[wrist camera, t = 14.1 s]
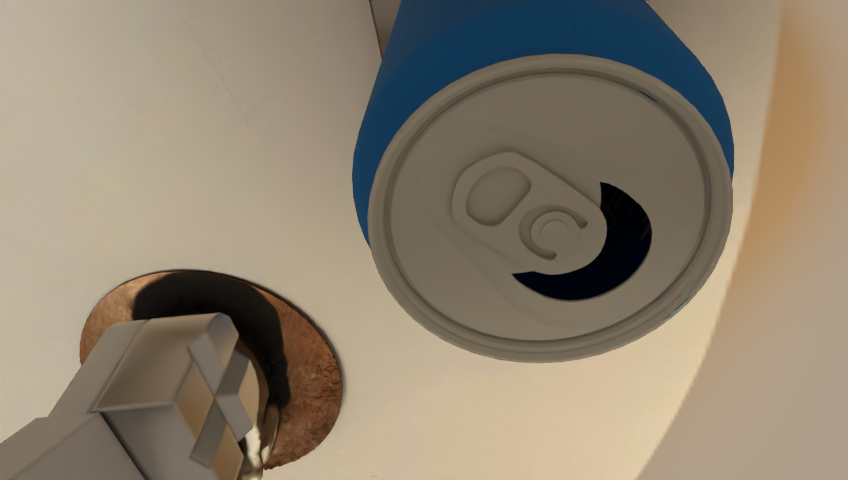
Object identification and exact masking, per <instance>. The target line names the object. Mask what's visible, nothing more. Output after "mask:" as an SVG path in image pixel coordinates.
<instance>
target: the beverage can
mask: <svg viewBox="0 0 848 480" xmlns="http://www.w3.org/2000/svg"><path fill="white" fill-rule="evenodd" d="M733 172H734V143H733V137H732V131H731V125H730V119H729V116H728V113H727V110H726V107H725V104H724V101H723V98H722V96H721V94H720V92H719V91H718V89H717V87H716V85H715V83H714V81H713V79H712V77H711V76H710V74H709V73H708V72H707V71H706V69H705V68H704V67H703V65H702V64H701V63H700V61H699V60H698V59H697V57H696V56H695V55H694V54H693V53H692V52H691V51H690V50H689V49H688V47H687V46H686V45H685V44H684V43H683V42H682V41H681V40H680V39H679V38H678V37H677V35H676V34H675V33H674V32H673V31H672V30H671V29H670V28H669V27H668V26H667V25H666V23H665V22H664V21H663V20H662V19H661V18H660V17H659V16H658V15H657V14H656V13H655V11H654V10H653V9H652V8H651V7H650V6H649V5H648V4H647V3H646V2H645V1H644V0H401V4H400V7H399V10H398V13H397V16H396V19H395V22H394V25H393V28H392V31H391V35H390V38H389V41H388V44H387V47H386V50H385V53H384V56H383V59H382V62H381V66H380V69H379V72H378V75H377V78H376V81H375V84H374V87H373V90H372V93H371V97H370V100H369V103H368V106H367V109H366V112H365V115H364V118H363V121H362V125H361V128H360V131H359V135H358V139H357V143H356V147H355V151H354V159H353V170H352V182H353V197H354V202H355V207H356V212H357V216H358V221H359V223H360V226H361V229H362V232H363V234H364V237H365V239H366V241H367V243H368V245H369V247H370V249H371V251H372V256H373V259H374V261H375V264H376V267H377V269H378V272H379V274H380V276H381V278H382V280H383V281H384V283H385V285H386V287H387V289H388V290H389V292H390V293H391V294H392V296H393V297H394V298H395V300H396V301H397V302H398V304H399V305H400V306H401V307H402V308H403V309H404V310H405V311H406V312H407V313H408V314H409V315H410V316H411V317H412V318H413V319H414V320H415V321H417V322H418V323H419V324H420V325H422V326H423V327H424V328H425V329H427V330H428V331H430V332H431V333H433V334H435V335H436V336H438V337H439V338H441V339H443V340H445V341H447V342H449V343H451V344H453V345H455V346H457V347H459V348H462V349H464V350H467V351H470V352H473V353H476V354H479V355H482V356H486V357H491V358H495V359H499V360H506V361H513V362H524V363H552V362H564V361H571V360H578V359H583V358H587V357H591V356H595V355H599V354H603V353H605V352H608V351H611V350H614V349H617V348H620V347H622V346H624V345H627V344H629V343H631V342H633V341H635V340H638V339H640V338H641V337H643V336H645V335H646V334H648V333H650V332H652V331H653V330H655V329H657V328H658V327H660V326H661V325H662V324H664V323H665V322H666V321H668V320H669V319H670V318H672V317H673V316H674V315H676V314H677V313H678V312H679V311H680V310H681V309H682V308H683V307H684V306H685V305H686V304H688V303H689V302H690V301H691V299H692V298H693V297H694V296H695V295H696V294H697V292H698V291H699V290H700V289H701V288H702V287H703V285H704V284H705V282H706V281H707V279H708V278H709V276H710V275H711V273H712V272H713V270H714V269H715V266H716V264H717V262H718V260H719V258H720V256H721V254H722V252H723V250H724V247H725V244H726V240H727V237H728V234H729V231H730V225H731V219H732V212H733V189H732V178H733Z"/></svg>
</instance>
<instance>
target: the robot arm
mask: <svg viewBox="0 0 848 480" xmlns="http://www.w3.org/2000/svg"><path fill="white" fill-rule="evenodd" d="M238 336H239V334H238V332H237V330H236V328H235V326H234V324H233V322H232V320H231V318H230V316H227V315H225V314H222V313H211V314H200V315H188V316H177V317H166V318H154V319H151V320H137V321H127V322H118V323H116V324H114V325H112V326H110V327H108V328H106V330H105V331H104V333H103V334H102V336H101V337H100V339H99V340H98V342H97V343H96V345H95V346H94V348H93V349H92V351H91V353H90V354H89V356H88V357H87V359H86V360H85V362H84V363H83V365H82V366H81V368H80V369H79V371H78V372H77V374H76V375H75V377H74V378H73V380H72V381H71V383H70V384H69V386H68V387H67V389H66V390H65V392H64V393H63V395H62V396H61V398H60V399H59V401H58V402H57V404H56V405H55V407H54V408H53V410H52V411H51V413H50V414H49V416H48V417H44V418H36V419H34V420H33V421H32V422H30V423H29V424H27V425H26V426H25V427H23V428H22V429H20V430H19V431H18V432H16V433H15V434H13V435H12V436H11V437H9V438H8V439H6V440H5V441H4V442H2V443H1V444H0V480H236V479H237V476H238V473H239V470H240V467H241V464H242V461H243V457H244V456H243V454H242V452H241V450H240V448H239V446H238V444H237V443H238V442H239V441H240V440H241V439H242V438H243V437H244V436H245V435H246V434H247V433H248V432H249V431H250V430H251V429H253V426H254V423H255V420H256V416H257V413H258V407H259V385H258V380H257V375H256V372H255V369H254V367H253V365H252V362H251V360H250V359H249V358H248V357H246V356H245V355H243V354H242V353H240V352H239V351H237V350H236V349H234V346H235V344H236V341H237V339H238Z"/></svg>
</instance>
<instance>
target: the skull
mask: <svg viewBox="0 0 848 480" xmlns="http://www.w3.org/2000/svg"><path fill="white" fill-rule="evenodd" d="M211 313H222V314H225V315H227V316H230V318H231V320H232V322H233V324H234V326H235V328H236V330H237V332H238V334H239V336H238V339H237V341H236V344H235V346H234V349H236V350H237V351H239V352H240V353H242V354H243V355H245V356H246V357H248V358H249V359H250V360H251V362H252V365H253V367H254V369H255V372H256V375H257V380H258V385H259V407H258V413H257V416H256V420H255V423H254V426H253V429H251V430H250V431H249V432H248V433H247V434H246V435H245V436H244V437H243V438H242V439H241V440H240V441H239V442H238V443H237V444H238V446H239V448H240V450H241V452H242V454H243V456H244V457H243V461H242V464H241V467H240V470H239V473H238V476H237V479H236V480H261V478H262V475H263V469H264V470H267V469H273V468H274V467H276V466H279V467H280V466H282V465H284V464H287V463H289V462H293V461H296V460H298V459H300V457H302V456H305V455H307V454H308V453H309V452H310V451H312V450H314V449H315V447H317V446H319V444H320V443H321V442H322V441H323V440H324V439H325V438H326V436H327V435H328V434H329V433H330V432H331V430H332V428H333V427H334V425H335V422H336V420H337V418H338V415H339V411H340V407H341V401H342V387H341V386H342V385H341V377H340V373H339V369H338V367H337V362H336V361H335V360H334V359H335V357H334V356H333V355H332V353H331V352H330V350H329V349H330V347H328V346H327V343H326V342H324V341H325V339H324V338H323V337H322V338H323V339H322V338H321V336H320V335H319V334H318V332H317V331H316V330H315V329H314V327H313V326H311V325H310V323H309V321H307V320H306V319H305V318H304V317H303V316H301V315H299V314H300V313H298V312H297V311H295V310H293V308H291V307H289V306H288V305H287V304H286V303H285V302H284V301H282V300H280V299H277V298H276V297H274V296H273V295H270V294H269V293H267V291H262V290H260V289H258V288H256V287H254V286H252V285H251V284H249V283H247V282H244V281H241V280H238V279H234V278H231V277H228V276H224V275H223V274H215V273H210V272H195V271H177V272H166V273H156V274H152V275H148V276H144V277H141V278H138V279H136V280H132V281H130V282H128V283H126V284H123V285H121V286H120V287H118V288H116V289H115V290H113V291H112V292H110V293H109V294H108V295H106V296H105V297H104V298H103V299H102V300H101V301H100V302H99V303H98V304H97V305H96V307H95V308H94V309H93V311H92V312H91V314H90V315H89V317H88V319H87V321H86V323H85V326H84V328H83V332H82V335H81V340H80V358H81V359H80V362H81V365H83V363H84V362H85V360H86V359H87V357H88V356H89V354H90V353H91V351H92V349H93V348H94V346H95V345H96V343H97V342H98V340H99V339H100V337H101V336H102V334H103V333H104V331H105V330H106V328H108V327H110V326H112V325H114V324H116V323H118V322H127V321H137V320H151V319H154V318H166V317H177V316H188V315H200V314H211ZM311 347H312V348H311ZM309 402H310V403H309ZM272 467H273V468H272Z"/></svg>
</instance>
